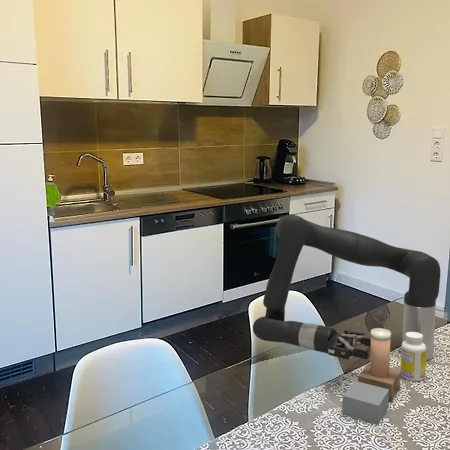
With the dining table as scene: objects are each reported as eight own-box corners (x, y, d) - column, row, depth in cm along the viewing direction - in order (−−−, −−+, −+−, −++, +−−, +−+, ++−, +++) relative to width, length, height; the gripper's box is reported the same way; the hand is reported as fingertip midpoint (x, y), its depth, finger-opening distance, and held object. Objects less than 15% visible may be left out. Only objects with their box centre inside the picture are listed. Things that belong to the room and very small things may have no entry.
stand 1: (367, 379, 137) (368, 363, 136) (400, 387, 132) (400, 370, 131) (357, 393, 129) (358, 376, 128) (391, 402, 124) (392, 384, 123)
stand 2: (354, 398, 127) (354, 380, 126) (388, 407, 122) (389, 389, 121) (342, 414, 119) (342, 395, 118) (378, 424, 114) (379, 405, 114)
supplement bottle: (421, 371, 141) (422, 330, 139) (428, 382, 134) (430, 339, 132) (397, 371, 141) (399, 330, 139) (403, 381, 135) (405, 339, 133)
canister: (372, 367, 133) (373, 326, 131) (391, 371, 130) (393, 330, 128) (367, 375, 129) (368, 333, 127) (386, 379, 126) (388, 336, 124)
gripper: (307, 333, 132) (365, 345, 123) (326, 318, 144) (380, 328, 135) (307, 359, 133) (364, 372, 124) (326, 341, 145) (380, 352, 136)
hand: (373, 349), depth 130 cm, fingers open, 8 cm apart
